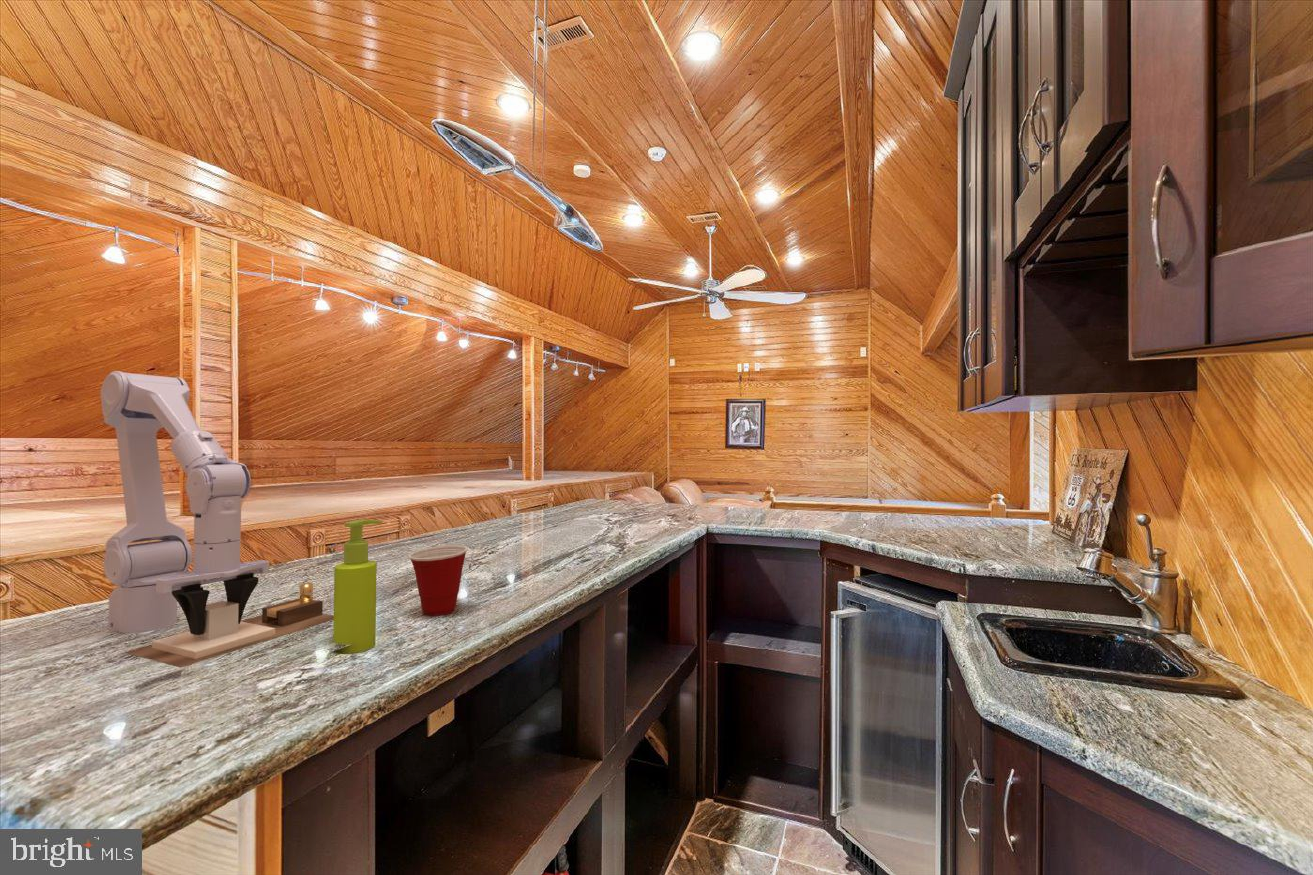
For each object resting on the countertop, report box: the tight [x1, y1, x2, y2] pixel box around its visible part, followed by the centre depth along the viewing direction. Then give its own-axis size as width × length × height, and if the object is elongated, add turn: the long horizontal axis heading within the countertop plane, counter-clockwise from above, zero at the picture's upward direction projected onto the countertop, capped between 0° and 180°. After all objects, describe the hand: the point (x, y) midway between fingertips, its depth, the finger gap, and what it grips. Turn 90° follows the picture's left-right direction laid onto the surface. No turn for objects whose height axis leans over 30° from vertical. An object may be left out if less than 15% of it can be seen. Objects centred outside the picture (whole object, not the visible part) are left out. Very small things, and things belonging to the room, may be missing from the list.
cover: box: [151, 600, 275, 659], centre depth 84 cm, size 11×11×6 cm
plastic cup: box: [407, 544, 469, 617], centre depth 105 cm, size 11×11×12 cm
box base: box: [124, 597, 334, 669], centre depth 88 cm, size 14×24×4 cm, turn 158°
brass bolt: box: [267, 582, 317, 618], centre depth 95 cm, size 2×7×4 cm, turn 158°
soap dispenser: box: [332, 518, 383, 655], centre depth 87 cm, size 6×7×20 cm
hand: (215, 628), depth 84 cm, fingers open, 4 cm apart
